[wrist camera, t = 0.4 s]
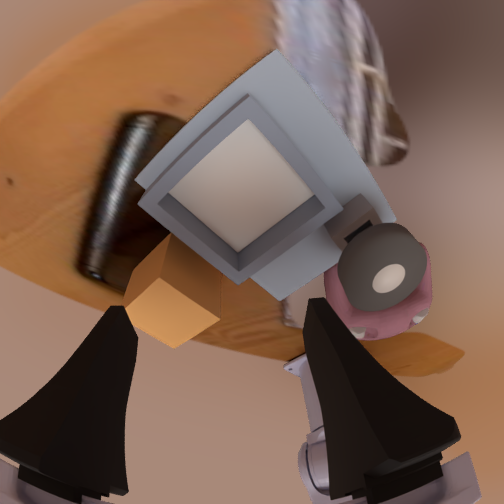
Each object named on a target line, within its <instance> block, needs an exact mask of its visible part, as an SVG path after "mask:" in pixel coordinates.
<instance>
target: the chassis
mask: <svg viewBox="0 0 504 504" xmlns="http://www.w3.org/2000/svg"><path fill="white" fill-rule="evenodd" d="M135 181H136V182H137V183H138V184H140V185H141V186H142V187H143V188H144V189H145V190H146V191H145V192H144V194H143V196H142V197H141V199H140V201H139V202H138V205H139V206H140V207H141V208H143V209H144V210H145V211H146V212H147V213H149V214H150V215H151V216H152V217H153V218H155V219H156V220H157V221H158V222H159V223H161V224H162V225H163V226H164V227H165V228H167V229H168V230H169V231H170V232H172V233H173V234H174V235H175V236H176V237H178V238H179V239H180V240H181V241H183V242H184V243H185V244H186V245H188V246H189V247H190V248H191V249H193V250H194V251H195V252H196V253H198V254H199V255H200V256H201V257H203V258H204V259H205V260H206V261H208V262H209V263H210V264H211V265H213V266H214V267H215V268H217V269H218V270H219V271H220V272H222V273H223V274H224V275H225V276H227V277H228V278H229V279H231V280H232V281H233V282H234V283H236V284H237V285H240V284H241V283H242V282H244V281H245V280H247V279H248V278H249V277H250V278H251V279H253V280H254V281H255V282H256V283H258V284H259V285H260V286H261V287H263V288H264V289H265V290H266V291H267V292H269V293H270V294H271V295H272V296H274V297H275V298H276V299H277V300H279V301H281V300H282V299H284V298H285V297H287V296H289V295H290V294H292V293H293V292H295V291H296V290H298V289H299V288H301V287H302V286H304V285H305V284H307V283H308V282H310V281H311V280H313V279H314V278H316V277H317V276H319V275H320V274H322V273H323V272H325V271H326V270H328V269H329V268H331V267H332V266H334V265H335V264H336V263H338V262H339V258H340V256H341V254H342V252H343V250H344V249H345V247H346V246H347V244H348V243H349V242H350V241H351V240H352V239H353V238H354V237H355V236H356V235H358V234H359V233H360V232H362V231H363V230H365V229H367V228H369V227H371V226H374V225H377V224H380V223H393V222H395V221H396V220H397V219H396V217H395V215H394V213H393V211H392V209H391V208H390V206H389V204H388V202H387V200H386V198H385V197H384V195H383V193H382V191H381V190H380V188H379V186H378V185H377V183H376V181H375V179H374V178H373V176H372V175H371V173H370V171H369V170H368V168H367V166H366V165H365V163H364V162H363V160H362V158H361V157H360V155H359V154H358V152H357V151H356V149H355V148H354V146H353V145H352V143H351V142H350V140H349V139H348V137H347V136H346V134H345V133H344V131H343V130H342V129H341V127H340V126H339V124H338V123H337V122H336V120H335V119H334V117H333V116H332V115H331V113H330V112H329V111H328V109H327V108H326V107H325V105H324V104H323V103H322V101H321V100H320V99H319V98H318V96H317V95H316V94H315V92H314V91H313V90H312V89H311V87H310V86H309V85H308V84H307V83H306V81H305V80H304V79H303V78H302V77H301V75H300V74H299V73H298V72H297V71H296V70H295V68H294V67H293V66H292V65H291V64H290V63H289V62H288V60H287V59H286V58H285V57H284V56H283V55H282V54H281V53H280V52H279V50H278V49H276V50H274V51H272V52H271V53H269V54H268V55H267V56H265V57H264V58H263V59H261V60H260V61H259V62H257V63H256V64H255V65H253V66H252V67H251V68H249V69H248V70H247V71H246V72H244V73H243V74H242V75H241V76H239V77H238V78H237V79H236V80H235V81H233V82H232V83H231V84H230V85H229V86H227V87H226V88H225V89H224V90H223V91H222V92H220V93H219V94H218V95H217V96H216V97H215V98H214V99H212V100H211V101H210V102H209V103H208V104H207V105H206V106H205V107H204V108H203V109H201V110H200V111H199V112H198V113H197V114H196V115H195V116H194V117H193V118H192V119H191V120H190V121H189V122H188V123H187V124H186V125H185V126H184V127H183V128H182V129H181V130H180V131H179V132H178V133H177V134H176V135H175V136H174V137H173V138H172V139H171V140H170V141H169V142H168V143H167V144H166V145H165V146H164V147H163V148H162V149H161V150H160V151H159V152H158V153H157V154H156V156H155V157H154V158H153V159H152V160H151V161H150V162H149V163H148V164H147V165H146V167H145V168H144V169H143V170H142V171H141V172H140V174H139V175H138V176H137V177H136V179H135Z"/></svg>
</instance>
